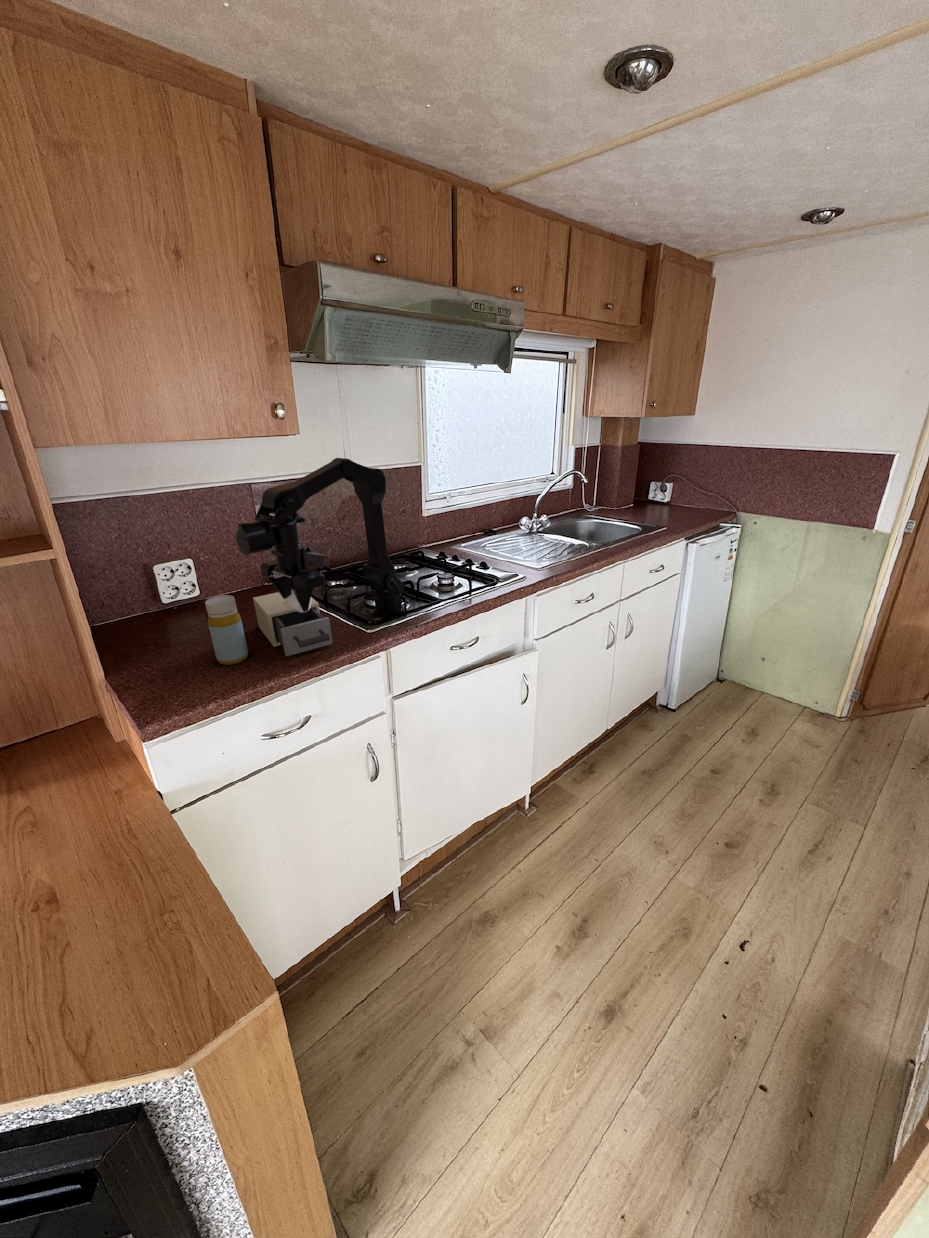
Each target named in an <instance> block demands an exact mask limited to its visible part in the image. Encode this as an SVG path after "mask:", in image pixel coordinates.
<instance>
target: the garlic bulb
mask: <svg viewBox="0 0 929 1238" xmlns="http://www.w3.org/2000/svg"><path fill="white" fill-rule="evenodd" d="M311 603H312V600H311V598H310V603H309V608H308V610H309V609H310V608H311ZM283 604H287V605H288V606H289V607H290V608H292V609H293V610H296V611H298V612H304V611H303V610H302V608H301V606H300V604H299V602H298V600H297V598H296V597H295V595H294V593H293V594H291V595H290V596H289V597H287V598H286V599H284V601H283ZM305 612H307V611H305Z"/></svg>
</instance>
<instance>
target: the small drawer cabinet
mask: <svg viewBox="0 0 929 1238" xmlns="http://www.w3.org/2000/svg"><path fill="white" fill-rule="evenodd" d="M292 594H293V591H292ZM252 599H253V604H254V609H255V615H256V619H257V625H258V628H259V630H260V631H261V632H262V633H263V635H264V636H265V638H266V639H267V640H268V641H269V643H270V644H271V646H272V647H273V648H275V647H279V646H282V645H281V644H280V642H279V641H278V640H277V639H276V637H275V632H274V627H273V622H272V617H274V616H279V615H283V614H287V613H291V612H296V610H293V609H292V608H290V607H289V606H288V605H287V604H283V601H284V599H283V597H282V596H281V595H280V593H279V592H278V591H277V592H273V593H268V594H264V595H260V596H255V597H252ZM311 600H312V603H311V608H314V609H315V610H316V611H317V612H318V613H320V614H321V611H320V605H319V604H320V603H319V602H318V601H316V599H315V598H313V597H312V596H311Z"/></svg>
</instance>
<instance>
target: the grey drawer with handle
mask: <svg viewBox="0 0 929 1238" xmlns="http://www.w3.org/2000/svg"><path fill="white" fill-rule="evenodd" d="M272 622H273V627H274V632H275V637H276V639H277V640H278V641H279V642H280V644H281V645H280V646H281V647H282V648H283V652H284V655H285V657H289V656H293V655H297V654H300V653H304V652H308V651H312V650H315V649H318V648H322V647H325V646H329V645H333V636H332V629H331V622H330V618H329V617H328V616H325V617H324V616H323V615H322V614H321V612H320V613H318V612H317V611H316V610H315V609H314V608H310V609H309V610H308V611H307V612H298V611H296V612H291V613H287V614H283V615H279V616H274V617H272Z"/></svg>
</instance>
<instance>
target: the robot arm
mask: <svg viewBox="0 0 929 1238" xmlns="http://www.w3.org/2000/svg"><path fill="white" fill-rule="evenodd" d="M342 479H344V480H345V481H348V482H350V483H351V484H352V485H353V490H354V492H355V493H354V494H355V495H356V497H357V498H358V500H359V501H360V503H361V506H362V512H363V513H362V515H363V520H364V529H365V536H366V537H365V538H366V543H367V551H368V558H367V561H366V563H363V564H362V565H361V569H362V572H363V573H362V574H363V576H362V578H363V579H364V580H365V583H366V584H368V585H369V587H370V589H371V590H372V591H375V596H374V599H373V600H374V611H375V612H376V613H378V615H380V616H381V617H383V618H387V617H391V616H394V615H398V614H401V613H405V611H406V610H405V609H404V608H403V605H402V595H401V593H404V592H405V587H406V584H405V583H404V582H403V581H402V580H401V579H400V578H398V577H397V573H396V569H395V566H394V564H393V562H392V561H391V558H389V555H388V548H387V539H386V530H385V521H384V512H383V501H384V497H385V496H386V493H387V477H386V474H385V472H384V471H383V470H381V468H380V469H379V468H376V467H368V466H365V465H362V464H360V463H357V462H355V461H353V460H351V459H349V458H346V457H345V458H344V457H335V458H334V459H332V460H331V461H330V462H328V463H327V464H324V465H322V466H321V467H319V468H317V469H316V470H314V471H311V472H310V473H308V474H306V475H304V476H303V477H301V478H299V479H296V480H295V481H292V482H288V483H283V484H279V485H274V486H272V487H269V488H267V489H265V490H264V491H263V492H262V497H261V503H260V505H259V507H258V510H257V512H256V513H255V514H256V515H255V517H254V520H252V521H242V522H238V523H237V527H238V529H237V530H236V536H235V541H236V544H237V547H238V549H239V551H240V553H242V554H243V555H244V556H248V555H253V554H256V553H260V552H264V551H265V552H266V551H268V550H270V553H271V555H273V556H275V559H272V560H270V561H266V562H263V563H262V565H260V573H261V575H262V576H263V577H266V578H267V580H268V581H269V582H270V583H271V585H272V586H273V588H275V589H276V591H277V592H279V593H280V595H281V596H282V597H283V599H286V598H287V597H289V596H290V595H291V594H292V591H293V593H294V595H295V597H296V598H297V600H298V602H299V604H300V606H301V608H302V610H303V611H304V612H305V611H308V608H309V603H310V598H311V597H312V594H313V590H314V589H315V588H316V587H317V588H318V587H320V586H323V585H326V583H327V582H326V577H325V576H326V575H325V574H323V573H322V572H320V571H317V570H314V569H311V567H313V568H319V569H324V568H325V562H326V555H325V554H322V553H318V552H314V551H312V549H311V547H309V546H308V547H307V546H301V542H300V535H299V529H298V524H301V523H306V518H304V517H302V516H301V515H300V514H299V513H298V511H300V510H301V509H302V508H303V507H304V505H305V503H306V502H307V500H309V499H310V498H311V497H313V496H315V495H316V494H318V493H321V492H322V491H323V490H325V489H327V488H328V487H330V486H332V485H334V484H335V483H337V482H340V480H342ZM271 514H272V515H271ZM272 548H273V549H272ZM292 584H293V586H292Z"/></svg>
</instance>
